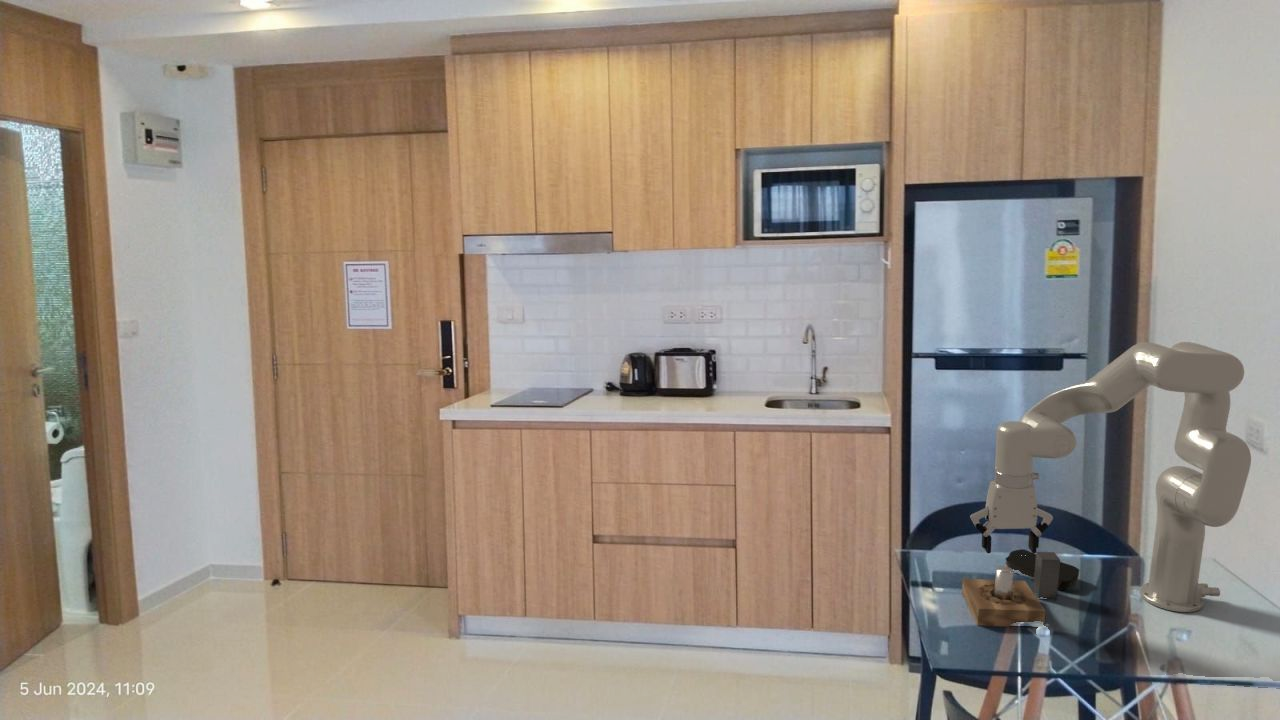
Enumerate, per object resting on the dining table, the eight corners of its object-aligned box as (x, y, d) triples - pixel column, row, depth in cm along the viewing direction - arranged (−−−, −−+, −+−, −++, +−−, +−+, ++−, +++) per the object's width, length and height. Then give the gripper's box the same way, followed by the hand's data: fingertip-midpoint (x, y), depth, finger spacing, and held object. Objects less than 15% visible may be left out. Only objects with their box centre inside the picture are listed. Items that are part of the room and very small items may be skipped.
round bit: (1007, 606, 204) (1010, 566, 202) (1012, 614, 201) (1015, 574, 198) (991, 606, 204) (994, 566, 202) (995, 614, 201) (998, 573, 199)
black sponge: (1082, 583, 215) (1083, 569, 214) (1064, 594, 210) (1066, 580, 209) (1017, 560, 228) (1018, 547, 227) (999, 570, 222) (1000, 556, 222)
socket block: (1023, 596, 209) (1024, 580, 208) (1043, 627, 195) (1045, 611, 194) (961, 594, 210) (962, 578, 209) (977, 625, 196) (978, 608, 196)
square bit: (1050, 591, 211) (1054, 552, 208) (1056, 599, 207) (1060, 559, 205) (1032, 590, 211) (1036, 551, 209) (1038, 599, 207) (1042, 559, 205)
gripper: (1048, 471, 198) (1044, 543, 202) (967, 472, 200) (965, 543, 204) (1060, 484, 191) (1056, 558, 195) (976, 485, 193) (973, 558, 197)
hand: (1009, 550), depth 199 cm, fingers open, 9 cm apart
